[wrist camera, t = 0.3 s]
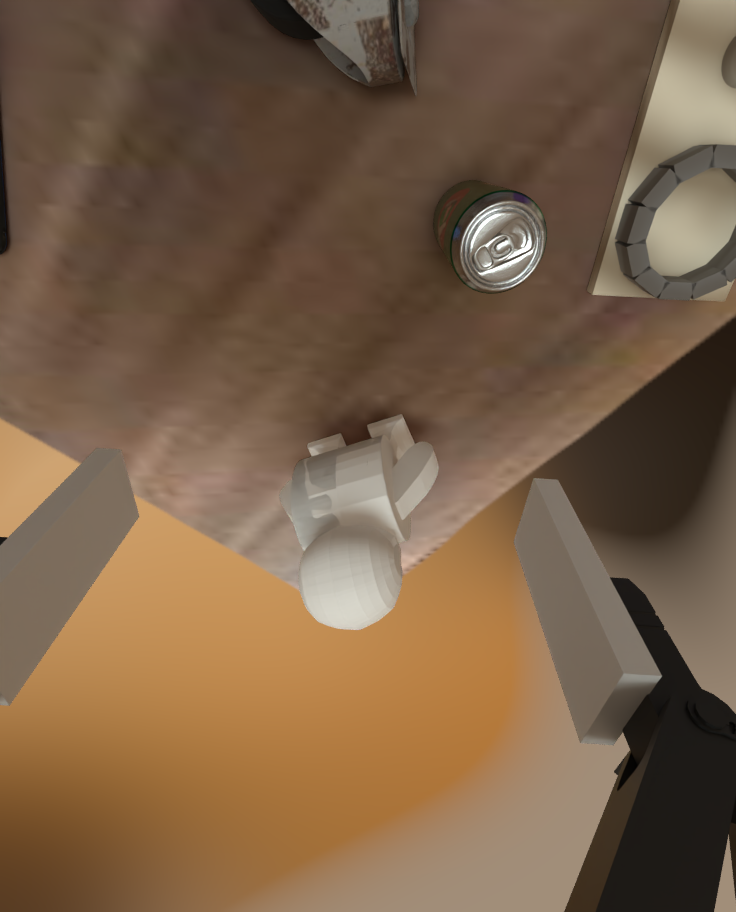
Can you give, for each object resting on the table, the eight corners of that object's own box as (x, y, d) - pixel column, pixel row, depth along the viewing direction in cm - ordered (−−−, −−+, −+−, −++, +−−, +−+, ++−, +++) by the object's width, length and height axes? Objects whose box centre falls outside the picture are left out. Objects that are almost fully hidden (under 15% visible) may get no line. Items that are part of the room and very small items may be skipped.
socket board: (674, -12, 27) (743, -52, 22) (847, -4, 27) (958, -42, 22) (586, 290, 36) (620, 313, 31) (715, 297, 36) (770, 321, 31)
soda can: (514, 231, 34) (567, 264, 24) (452, 270, 36) (478, 316, 26) (484, 163, 32) (529, 167, 22) (420, 208, 33) (434, 232, 23)
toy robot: (315, 500, 48) (278, 682, 32) (277, 430, 44) (210, 600, 27) (444, 464, 45) (478, 644, 29) (417, 384, 41) (438, 544, 24)
